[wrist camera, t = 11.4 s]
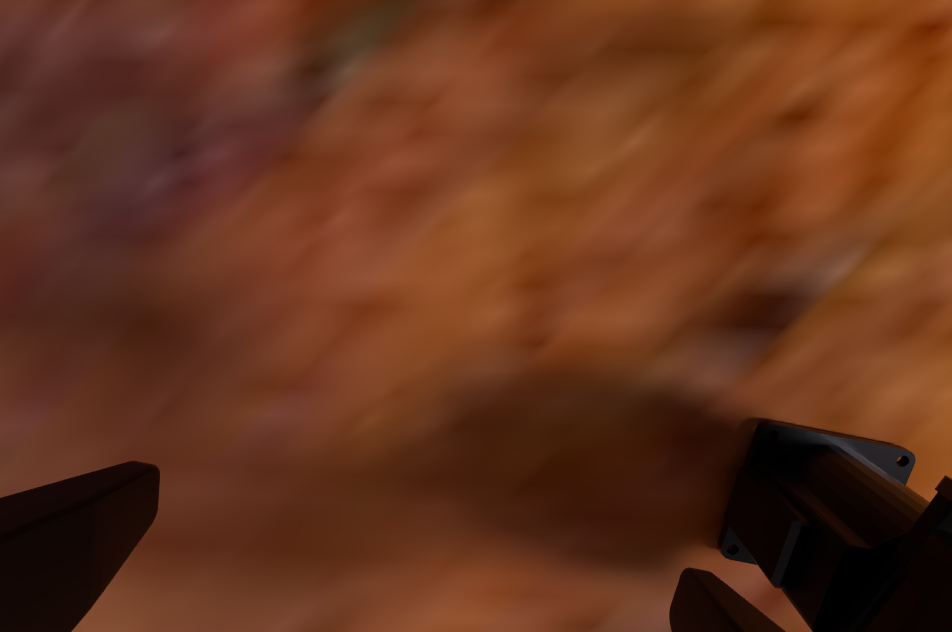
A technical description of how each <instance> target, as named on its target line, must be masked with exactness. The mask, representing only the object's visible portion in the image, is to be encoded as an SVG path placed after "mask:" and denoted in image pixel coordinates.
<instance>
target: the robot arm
mask: <svg viewBox="0 0 952 632" xmlns="http://www.w3.org/2000/svg"><path fill="white" fill-rule="evenodd" d="M770 430H774V433H773V434H772V435H771V436H770V437H766V434H767V433H768V432H769V431H770ZM900 456H902V458H901V459H900V460H899V461H897V459H898V458H899V457H900ZM914 464H915V456H914V454H913V453H912V452H911V451H909V450H907V449H906V448H904V447H901V446H898V445H893V444H888V443H883V442H878V441H873V440H868V439H862V438H857V437H852V436H847V435H842V434H837V433H832V432H827V431H822V430H817V429H812V428H807V427H802V426H796V425H791V424H786V423H781V422H776V421H764V422H762V423H760V424H759V425H758V427H757V428H756V431H755V434H754V437H753V439H752V442H751V445H750V448H749V451H748V454H747V457H746V460H745V463H744V465H743V466H742V467H741V468H740V470H739V473H738V476H737V479H736V482H735V485H734V488H733V491H732V494H731V497H730V500H729V503H728V506H727V509H726V512H725V514H724V518H725V522H724V525H723V528H722V531H721V534H720V537H719V540H718V545H717V546H718V548H719V550H720V552H721V553H722V555H723V556H724V557H725V558H727V559H730V560H735V561H740V562H745V563H750V564H755V565H758V566H759V568H760V569H761V570H762V572H763V573H764V574H765V576H766V577H767V579H768V580H769V581H770V583H771V584H772V586H774V587H775V588H779V589H782V591H783V592H784V594H785V595H786V596H787V598H788V599H789V600H790V602H791V603H792V604H793V606H794V607H795V608H796V610H797V611H798V612H799V614H800V615H801V617H802V618H803V619H804V621H805V622H806V623H807V625H808V626H809V627H810V629H811V630H812V631H813V632H952V478H950V477H948V476H945V477H944V478H943V479H942V480H941V482H940V483H939V484H938V486H937V487H936V488H935V490H936V491H938V493H937V494H936V495H935V497H934V498H933V499H932V501H931V502H928V501H927V500H925V499H924V498H923V497H921V496H920V495H918V494H917V493H915V492H914V491H912V490H911V489H910V488H908V487H907V486H905V485H906V483H907V481H908V478H909V476H910V473H911V471H912V469H913V466H914ZM159 483H160V471H159V468H158V467H157V466H156V465H153V464H148V463H143V462H138V461H130V462H126V463H122V464H119V465H115V466H112V467H108V468H105V469H101V470H98V471H94V472H91V473H87V474H83V475H80V476H76V477H73V478H69V479H66V480H62V481H59V482H55V483H52V484H48V485H44V486H41V487H37V488H34V489H30V490H27V491H23V492H20V493H16V494H13V495H9V496H5V497H2V498H0V632H71V631H72V630H73V629H74V628H75V627H76V626H77V624H78V623H79V622H80V621H81V620H82V618H83V617H84V616H85V615H86V614H87V612H88V611H89V610H90V609H91V608H92V606H93V605H94V604H95V602H96V601H97V600H98V598H99V597H100V596H101V594H102V593H103V592H104V590H105V589H106V587H107V586H108V585H109V583H110V582H111V580H112V579H113V578H114V576H115V575H116V573H117V572H118V571H119V569H120V568H121V566H122V565H123V564H124V562H125V561H126V559H127V558H128V557H129V555H130V554H131V552H132V551H133V550H134V548H135V547H136V546H137V544H138V543H139V541H140V540H141V539H142V537H143V536H144V534H145V533H146V532H147V530H148V529H149V527H150V526H151V524H152V523H153V521H154V519H155V517H156V514H157V510H158V499H159ZM730 545H734V546H733V547H732V548H731V549H727V548H728V546H730ZM669 619H670V626H671V631H672V632H785V631H784V630H783V629H782V628H780V627H779V626H778V625H777V624H775V623H774V622H773V621H772V620H770V619H769V618H768V617H767V616H765V615H764V614H763V613H762V612H760V611H759V610H758V609H757V608H755V607H754V606H753V605H752V604H750V603H749V602H748V601H747V600H745V599H744V598H743V597H742V596H740V595H739V594H738V593H737V592H735V591H734V590H733V589H732V588H730V587H729V586H728V585H727V584H725V583H724V582H723V581H722V580H720V579H719V578H718V577H717V576H715V575H714V574H713V573H711V572H709V571H705V570H700V569H694V568H686V569H684V570H683V572H682V574H681V576H680V579H679V582H678V585H677V588H676V591H675V594H674V597H673V600H672V603H671V606H670V612H669Z"/></svg>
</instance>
